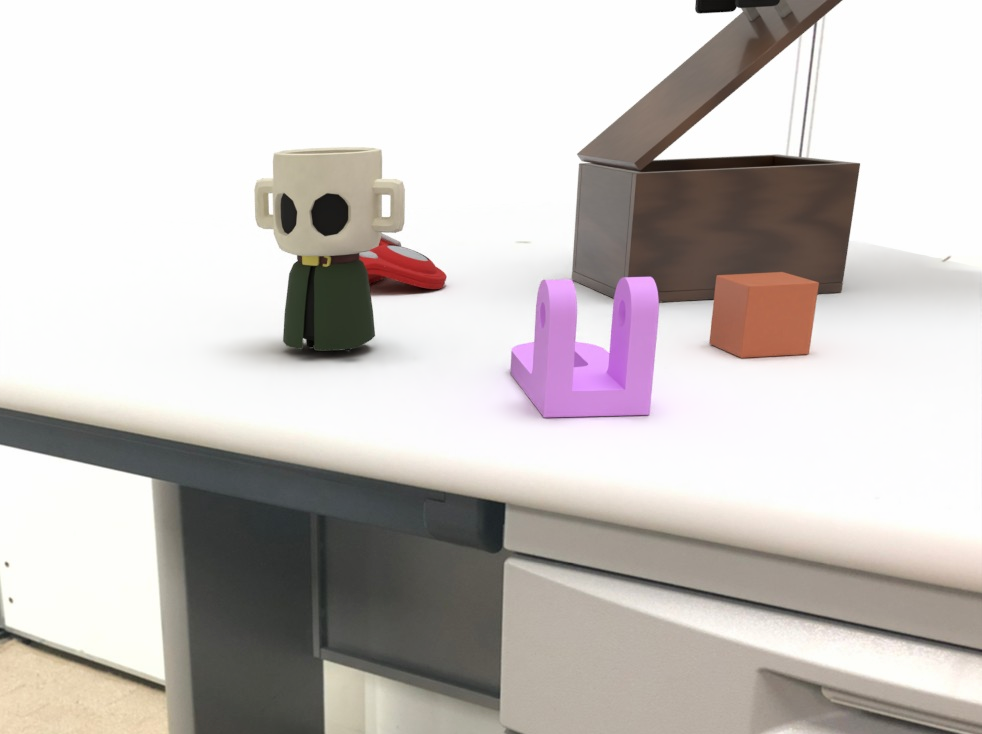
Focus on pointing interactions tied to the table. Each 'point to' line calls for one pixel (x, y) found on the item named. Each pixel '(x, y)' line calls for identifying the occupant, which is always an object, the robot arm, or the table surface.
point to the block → (763, 314)
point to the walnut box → (713, 222)
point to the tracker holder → (401, 265)
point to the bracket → (590, 354)
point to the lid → (703, 82)
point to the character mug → (328, 239)
